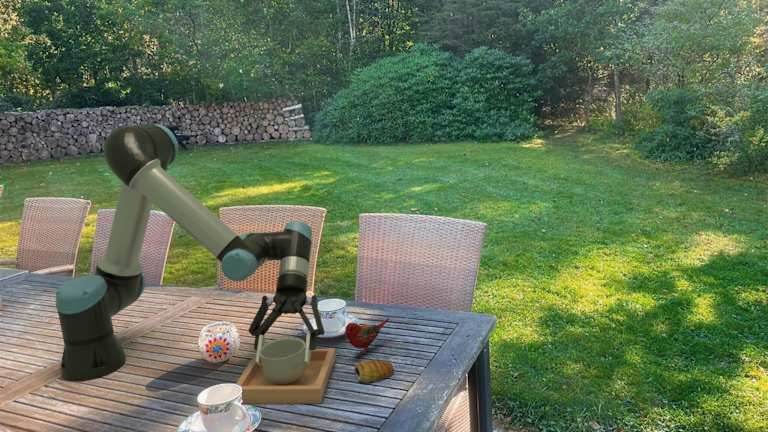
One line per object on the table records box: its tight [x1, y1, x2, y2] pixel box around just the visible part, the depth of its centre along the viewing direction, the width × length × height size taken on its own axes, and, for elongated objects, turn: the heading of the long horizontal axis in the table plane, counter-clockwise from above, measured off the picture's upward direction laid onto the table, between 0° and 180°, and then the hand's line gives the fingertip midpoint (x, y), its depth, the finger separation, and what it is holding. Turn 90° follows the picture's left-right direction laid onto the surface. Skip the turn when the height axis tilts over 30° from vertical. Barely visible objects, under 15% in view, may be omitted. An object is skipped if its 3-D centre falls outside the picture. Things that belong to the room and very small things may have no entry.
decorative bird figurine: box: [343, 317, 390, 356], centre depth 150 cm, size 3×18×10 cm, turn 139°
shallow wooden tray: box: [235, 347, 337, 404], centre depth 136 cm, size 20×20×4 cm
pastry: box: [354, 359, 395, 384], centre depth 137 cm, size 9×7×4 cm
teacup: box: [259, 334, 307, 384], centre depth 135 cm, size 14×11×8 cm
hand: (282, 363), depth 133 cm, fingers closed on teacup, 11 cm apart
